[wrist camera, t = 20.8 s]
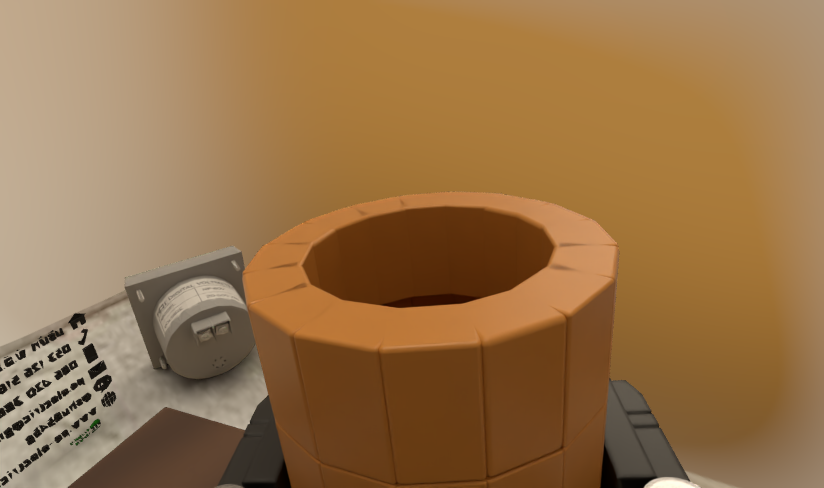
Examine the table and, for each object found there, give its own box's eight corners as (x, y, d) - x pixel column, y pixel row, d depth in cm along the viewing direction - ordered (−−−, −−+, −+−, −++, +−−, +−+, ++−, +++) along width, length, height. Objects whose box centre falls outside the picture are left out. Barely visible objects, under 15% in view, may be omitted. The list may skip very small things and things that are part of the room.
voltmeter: (207, 319, 55) (184, 237, 51) (296, 331, 51) (278, 243, 47) (-74, 536, 32) (-156, 416, 28) (48, 587, 28) (-27, 457, 24)
